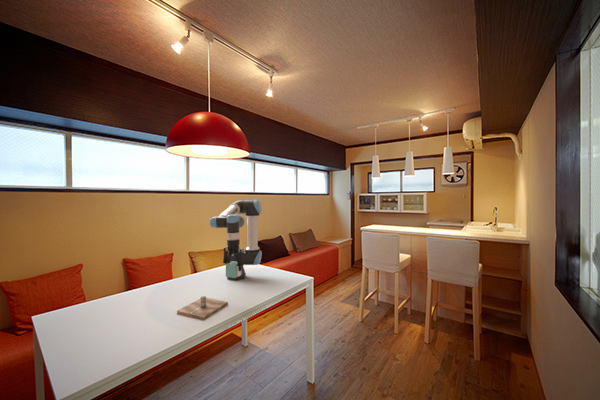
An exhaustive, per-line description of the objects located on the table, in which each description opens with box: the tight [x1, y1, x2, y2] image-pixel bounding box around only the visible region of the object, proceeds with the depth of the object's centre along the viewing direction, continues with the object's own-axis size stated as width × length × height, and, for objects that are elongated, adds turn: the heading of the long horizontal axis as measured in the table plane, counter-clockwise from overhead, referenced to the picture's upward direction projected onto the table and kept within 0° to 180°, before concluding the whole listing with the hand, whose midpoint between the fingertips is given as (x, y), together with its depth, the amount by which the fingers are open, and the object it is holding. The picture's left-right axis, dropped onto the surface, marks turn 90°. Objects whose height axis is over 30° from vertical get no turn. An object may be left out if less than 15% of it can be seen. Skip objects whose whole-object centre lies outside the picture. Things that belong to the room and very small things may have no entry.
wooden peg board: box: [176, 295, 229, 320], centre depth 142 cm, size 20×20×7 cm
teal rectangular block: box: [225, 261, 242, 278], centre depth 151 cm, size 7×7×9 cm
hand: (233, 275), depth 151 cm, fingers closed on teal rectangular block, 7 cm apart
